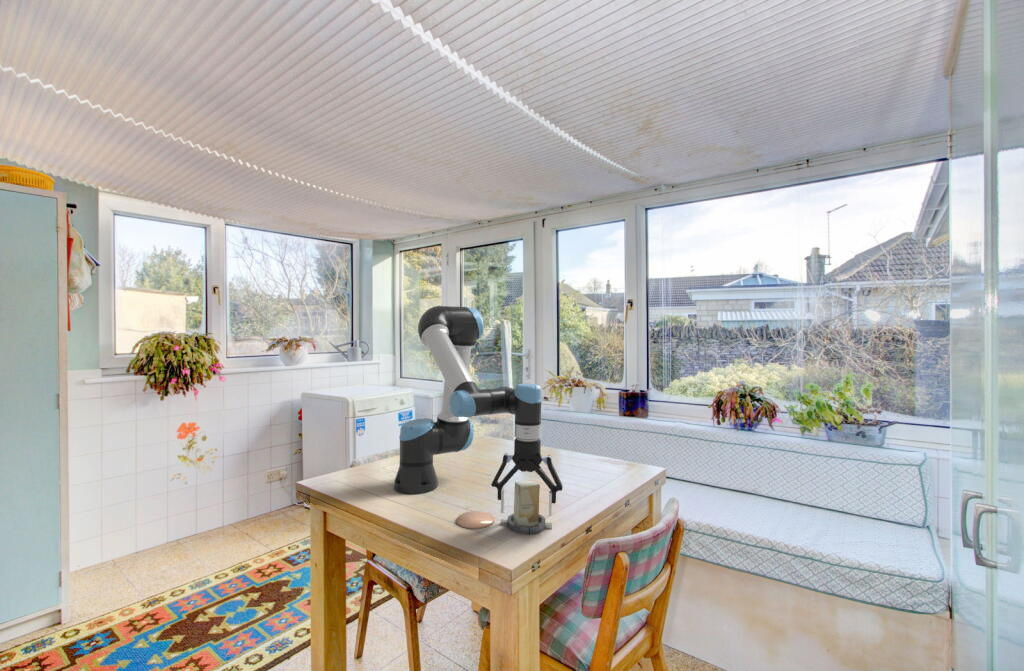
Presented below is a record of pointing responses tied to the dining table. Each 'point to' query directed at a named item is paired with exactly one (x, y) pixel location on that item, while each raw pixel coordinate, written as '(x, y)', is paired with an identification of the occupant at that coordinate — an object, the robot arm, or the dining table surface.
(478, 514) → the peach dome button
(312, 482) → the dining table surface
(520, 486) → the skincare box
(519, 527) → the bayonet collar
